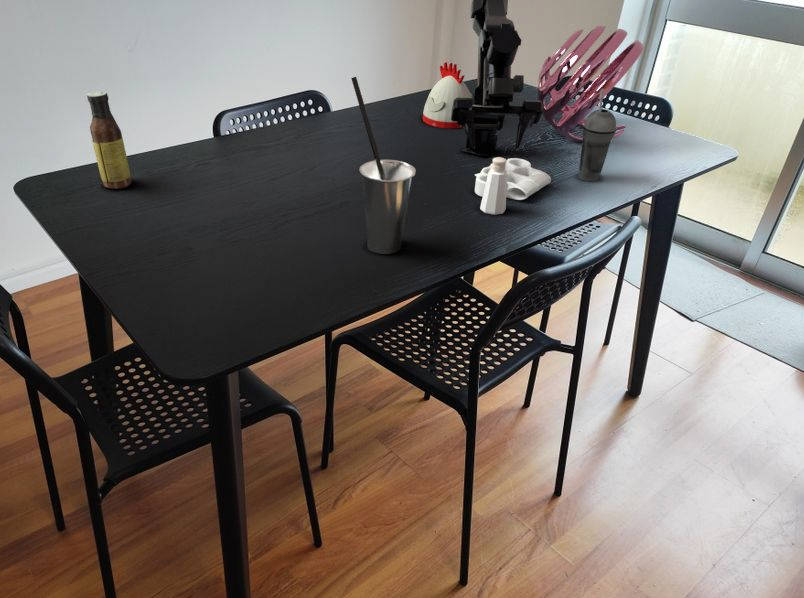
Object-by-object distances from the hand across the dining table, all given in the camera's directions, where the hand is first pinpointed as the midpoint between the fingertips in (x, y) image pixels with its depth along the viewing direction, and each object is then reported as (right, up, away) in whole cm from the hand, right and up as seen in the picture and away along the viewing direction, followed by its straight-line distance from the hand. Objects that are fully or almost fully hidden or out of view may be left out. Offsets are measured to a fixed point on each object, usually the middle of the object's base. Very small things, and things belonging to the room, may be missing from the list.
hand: (495, 148), depth 150 cm
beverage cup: (+25, -3, +15) cm, 29 cm away
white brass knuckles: (+5, -6, +10) cm, 13 cm away
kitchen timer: (-4, +21, +47) cm, 52 cm away
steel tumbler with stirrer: (-25, -23, -14) cm, 36 cm away
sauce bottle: (-82, -6, +7) cm, 83 cm away
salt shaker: (-1, -13, 0) cm, 13 cm away
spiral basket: (+30, +15, +40) cm, 52 cm away
